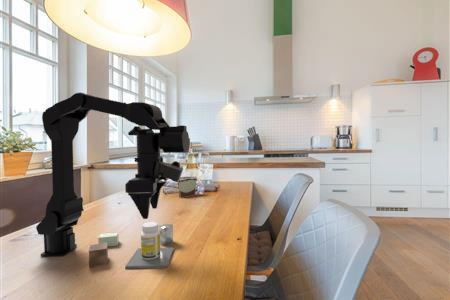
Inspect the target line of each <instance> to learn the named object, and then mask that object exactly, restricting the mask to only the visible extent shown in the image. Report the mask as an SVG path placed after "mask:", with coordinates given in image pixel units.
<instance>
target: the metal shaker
mask: <svg viewBox="0 0 450 300" xmlns="http://www.w3.org/2000/svg"><path fill="white" fill-rule="evenodd" d="M158 230H159V231H160V246H164V247H165V246H171V245H173V244H174V225H173V224H169V223H165V224H161V225H158Z"/></svg>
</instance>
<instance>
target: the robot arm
mask: <svg viewBox="0 0 450 300" xmlns="http://www.w3.org/2000/svg"><path fill="white" fill-rule="evenodd" d="M90 111H95V112H101V113H105V114H108V115H113V116H118V117H121V118H123V119H125V120H127V121H129V122H131V123H132V124H134V125H135V126H133V128H132V129H131V130H130V131H129V132H128V133H127V134H128V136H136V157H134V163H137V166H136V167H137V173H135V174H134V175H135V176H134V177H133V178H131V179H129V180H128V181H127V182H126V183H125V185H124V186H125V187H124V188H125V193H127V194H128V196H129V197H130V198H131V200H132V202H133V203H134V205H135V207H136V208H137V210H138V212H139V214H140V216H141V217H142V219H143V220H147V219H149V215H150V208H152V209H154V210H155V209H157V208H158V204H159V200H160V194H161V192H162V191H161V190H162V188H163V187H164V186H165V184H167V183H168V182H167V181H169V180H171V181H172V182H175V183H176V182H178V181H179V180H180V177H182V174H183V172H184V168H183V167H181V162H179V161H177V160H174V161H173V162H171V163H170V162H168V163H167V162H164V157H163V156H162V155H161V150H162V151H163V153H164V154H177V153H178V154H183V153H184V154H187V153H188V152H189V151H190V147H191V139H190V136H189V133H188V132H189V131H188V130H187V129H188V128H187V126H186V125H176V126H170V125H169V123H168V122H167V121H166V119H165V118H164V117H163V111H162V109H161V108H160V107H158V106H157V105H154V104H151V103H147V102H140V101H138V102H137V101H133V102H132V101H131V102H122V101H116V100H112V99H108V98H103V97H98V96H94V95H92V94H89V93H84V92H75V93H73V94H72V95H71V96H70V97H67V98H66V99H63V100H61V101H58V102H56V103H54V104H53V105H52V106H49V107H47V108H46V109H45V110H44V111H43V112H42V115H41V121H42V125H43V130H44V132H45V134H46V136H48V138H49V141H50V143H51V144H50V145H51V146H50V147H51V172H52V173H51V175H52V178H51V179H52V180H51V181H52V182H51V183H52V195H51V197H50V198H49V200H48V202H47V204H46V207H45V213H44V214H45V215H44V217H43V218H42V219H41V221H40V222H39V223H38V224H37V225H36V227H35V228H36V231H37V234H38V235H41V236H43V247H44V249H43V250H44V251H43V252H42V253H40V257H51V256H52V257H56V256H59V257H60V256H62V257H63V256H66V255H68V253H70V252H71V251H72V250H74V249H75V248H76V247H77V246H78V244H77V243H76V234H75V232H74V226H76V225H77V226H78V222H79V219H80V218H81V216H82V212H84V209H85V208H84V204H83V203H84V199H83V196H80V197H78V195H77V194H76V192H75V184H74V183H75V181H74V180H75V179H74V144H73V142H74V139H75V137H76V135H77V134H78V132H79V126H80V122H82V121H83V120H84V119H86V117H88V114H89V112H90ZM136 125H137V126H136ZM141 127H146V128H141ZM154 130H155V131H159V132H155V131H154ZM150 205H151V207H150Z"/></svg>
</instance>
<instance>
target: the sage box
mask: <svg viewBox="0 0 450 300" xmlns="http://www.w3.org/2000/svg"><path fill="white" fill-rule="evenodd" d="M119 238H120V237H119V232H108V233H100V234H99V236H98V238H97V239H98V240H97V241H98V243H97V244H102V243H107V245H108V247H115V246H118V244H119V240H120V239H119Z"/></svg>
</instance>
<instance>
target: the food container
mask: <svg viewBox="0 0 450 300" xmlns="http://www.w3.org/2000/svg"><path fill="white" fill-rule="evenodd" d="M197 181H198V178H197V176H181V177H180V180H179V181H178V182H175V183H176V184H177V191H178V197H179V199H181V198H187V197H192V196H193V197H194V196H196V192H197V190H196V189H197Z"/></svg>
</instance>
